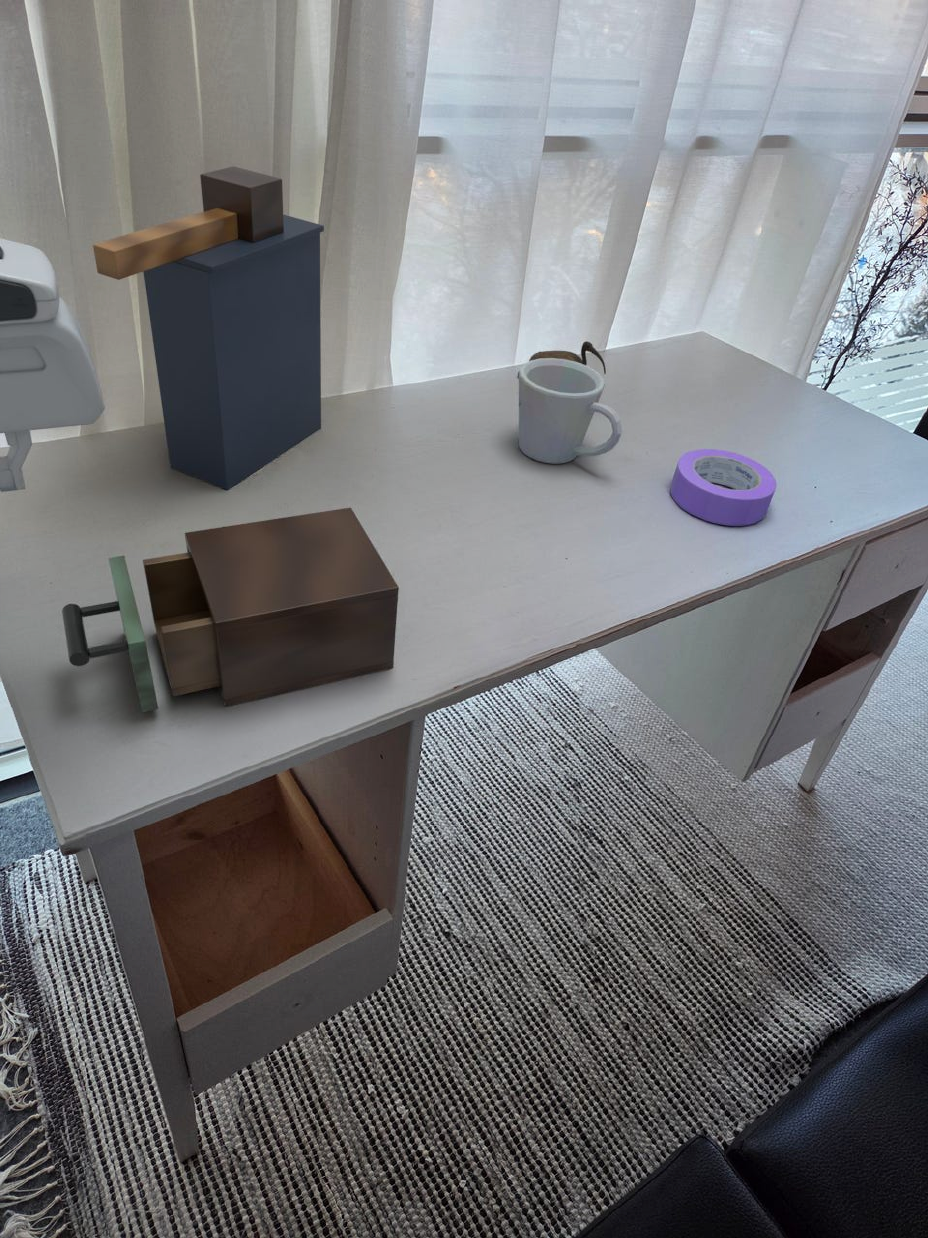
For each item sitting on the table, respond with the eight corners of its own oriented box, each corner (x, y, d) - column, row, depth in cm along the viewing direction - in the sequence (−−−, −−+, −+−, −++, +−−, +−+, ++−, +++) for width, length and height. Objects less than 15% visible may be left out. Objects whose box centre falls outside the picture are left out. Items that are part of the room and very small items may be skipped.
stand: (231, 491, 92) (211, 266, 76) (166, 466, 94) (135, 243, 79) (324, 429, 104) (324, 225, 89) (265, 407, 107) (255, 206, 92)
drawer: (84, 725, 64) (65, 656, 59) (70, 634, 71) (52, 566, 66) (310, 674, 71) (309, 608, 66) (276, 596, 78) (273, 531, 73)
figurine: (607, 410, 117) (621, 350, 111) (585, 417, 115) (598, 356, 109) (538, 371, 125) (548, 313, 119) (516, 377, 122) (525, 318, 116)
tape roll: (662, 470, 106) (670, 443, 103) (752, 479, 106) (762, 452, 104) (679, 522, 97) (688, 494, 94) (777, 531, 97) (789, 503, 95)
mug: (542, 421, 112) (555, 350, 106) (633, 468, 105) (653, 395, 99) (490, 444, 106) (501, 369, 99) (583, 496, 99) (601, 419, 92)
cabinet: (225, 707, 68) (215, 623, 62) (195, 614, 76) (184, 532, 70) (393, 668, 74) (399, 587, 68) (349, 585, 82) (350, 507, 76)
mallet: (135, 285, 71) (125, 223, 68) (81, 268, 73) (69, 206, 69) (284, 232, 86) (282, 178, 83) (236, 218, 88) (233, 165, 84)
